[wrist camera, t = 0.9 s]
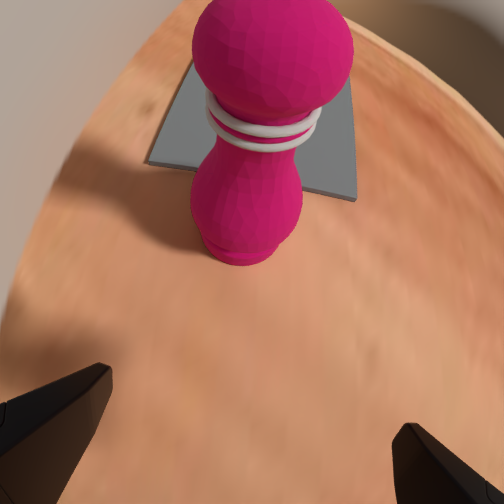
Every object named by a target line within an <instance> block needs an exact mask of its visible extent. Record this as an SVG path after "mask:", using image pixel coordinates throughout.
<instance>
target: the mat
mask: <svg viewBox="0 0 504 504" xmlns="http://www.w3.org/2000/svg"><path fill="white" fill-rule="evenodd" d="M205 91H206V86H205V85H204V83H203V81H202V80H201V78H200V76H199V75H198V73H197V71H196V70H195V66H194V62H193V64H192V66H191V68H190V70H189V72H188V74H187V76H186V78H185V80H184V82H183V84H182V86H181V88H180V90H179V92H178V94H177V96H176V98H175V100H174V102H173V105H172V107H171V109H170V111H169V113H168V115H167V118H166V120H165V122H164V124H163V127H162V129H161V131H160V133H159V136H158V138H157V141H156V143H155V145H154V148H153V150H152V153H151V155H150V157H149V160H148V162H149V165H154V166H162V167H169V168H176V169H183V170H190V171H197V170H198V168H199V166H200V164H201V163H202V161H203V160H204V158H205V157H206V156H207V155H208V153H209V152H210V151H211V150H212V148H213V147H214V145H215V143H216V138H217V133H216V132H215V131H214V130H213V129H212V127H211V126H210V125H209V123H208V120H207V118H206V113H205V105H206V98H205ZM294 163H295V165H296V168H297V171H298V174H299V177H300V180H301V185H302V190H303V191H308V192H312V193H317V194H322V195H326V196H331V197H335V198H340V199H344V200H348V201H353V202H355V201H356V199H357V172H356V150H355V133H354V119H353V107H352V96H351V86H350V77H348V79H347V81H346V83H345V85H344V86H343V88H342V90H341V91H340V92H339V93H338V94H337V95H336V96H335V97H334V98H333V99H332V100H331V101H330V102H328V103H327V104H325V105H323V106H322V110H321V113H320V116H319V118H318V119H317V122H316V127H315V130H314V131H313V133H312V135H311V136H310V137H309V138H308V139H307V140H306V141H305V142H303V143H302V144H300V145H299V146H297V147H296V150H295V154H294Z"/></svg>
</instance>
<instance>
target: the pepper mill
mask: <svg viewBox="0 0 504 504" xmlns="http://www.w3.org/2000/svg"><path fill="white" fill-rule="evenodd" d="M192 55H193V61H194V66H195V70H196V71H197V73H198V75H199V76H200V78H201V80H202V81H203V83H204V85H205V86H206V91H205V98H206V105H205V113H206V118H207V120H208V123H209V125H210V126H211V127H212V129H213V130H214V131H215V132H216V133H217V138H216V143H215V145H214V147H213V148H212V150H211V151H210V152H209V153H208V155H207V156H206V157H205V158H204V160H203V161H202V163H201V164H200V166H199V168H198V170H197V172H196V175H195V177H194V179H193V183H192V188H191V198H190V203H191V211H192V216H193V218H194V221H195V223H196V225H197V227H198V228H199V230H200V231H201V236H202V240H203V242H204V244H205V246H206V247H207V249H208V250H209V251H210V252H211V253H212V254H213V255H214V256H215V257H216V258H218V259H219V260H221V261H223V262H225V263H228V264H231V265H238V266H249V265H253V264H257V263H259V262H262V261H264V260H265V259H267V258H268V257H269V256H271V255H272V254H273V252H274V251H275V250H276V249H277V247H278V245H279V244H280V243H281V242H283V241H284V240H285V239H286V238H287V237H288V236H289V235H290V233H291V232H292V231H293V229H294V228H295V226H296V224H297V222H298V219H299V216H300V212H301V208H302V199H303V194H302V185H301V180H300V177H299V174H298V171H297V168H296V165H295V163H294V154H295V150H296V147H297V146H299V145H300V144H302V143H303V142H305V141H306V140H307V139H308V138H309V137H310V136H311V135H312V133H313V131H314V130H315V127H316V122H317V119H318V118H319V116H320V113H321V110H322V106H323V105H325V104H327V103H328V102H330V101H331V100H332V99H333V98H334V97H335V96H336V95H337V94H338V93H339V92H340V91H341V90H342V88H343V86H344V85H345V83H346V81H347V79H348V77H349V73H350V70H351V67H352V63H353V55H354V48H353V38H352V35H351V33H350V30H349V27H348V25H347V23H346V21H345V20H344V18H343V17H342V15H341V14H340V13H339V12H338V10H337V9H336V8H335V7H334V6H333V5H332V4H331V3H329V2H328V1H326V0H213V1H212V2H211V3H210V4H208V6H207V7H206V8H205V10H204V11H203V13H202V14H201V16H200V17H199V20H198V22H197V24H196V27H195V30H194V35H193V40H192Z"/></svg>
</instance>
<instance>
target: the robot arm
mask: <svg viewBox="0 0 504 504" xmlns="http://www.w3.org/2000/svg"><path fill="white" fill-rule="evenodd" d="M112 389H113V380H112V368H111V367H110V366H109V365H106V364H103V363H100V362H99V363H95V364H93V365H91V366H89V367H86V368H84V369H82V370H79V371H77V372H75V373H73V374H70V375H68V376H66V377H63V378H61V379H59V380H56V381H54V382H52V383H49V384H47V385H45V386H42V387H40V388H37V389H35V390H33V391H30V392H28V393H25V394H23V395H21V396H18V397H16V398H13V399H11V400H8V401H7V403H6V402H3V403H1V404H0V504H56V503H57V501H58V500H59V498H60V496H61V494H62V492H63V490H64V488H65V486H66V485H67V483H68V481H69V479H70V477H71V475H72V474H73V472H74V470H75V468H76V466H77V464H78V463H79V461H80V459H81V457H82V455H83V454H84V452H85V450H86V448H87V447H88V445H89V443H90V441H91V439H92V438H93V436H94V434H95V432H96V429H97V427H98V424H99V422H100V420H101V417H102V415H103V412H104V410H105V408H106V405H107V403H108V400H109V398H110V396H111V393H112ZM392 457H393V473H394V486H395V493H396V500H397V504H504V494H503V493H502V492H501V491H499V490H498V489H497V488H495V487H494V486H493V485H492V484H490V483H489V482H488V481H485V479H484V478H483V477H482V476H480V475H479V474H478V473H477V472H475V471H474V470H473V469H472V468H471V467H469V466H468V465H467V464H466V463H464V462H463V461H462V460H461V459H460V458H458V457H457V456H456V455H455V454H454V453H452V452H451V451H450V450H449V449H447V448H446V447H445V446H444V445H443V444H441V443H440V442H439V441H438V440H437V439H435V438H434V437H433V436H432V435H431V434H430V433H428V432H427V431H426V430H425V429H424V428H422V427H421V426H420V425H419V424H417V423H405V424H404V425H403V426H402V428H401V429H400V431H399V432H398V433H397V435H396V436H395V438H394V439H393V442H392Z"/></svg>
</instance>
